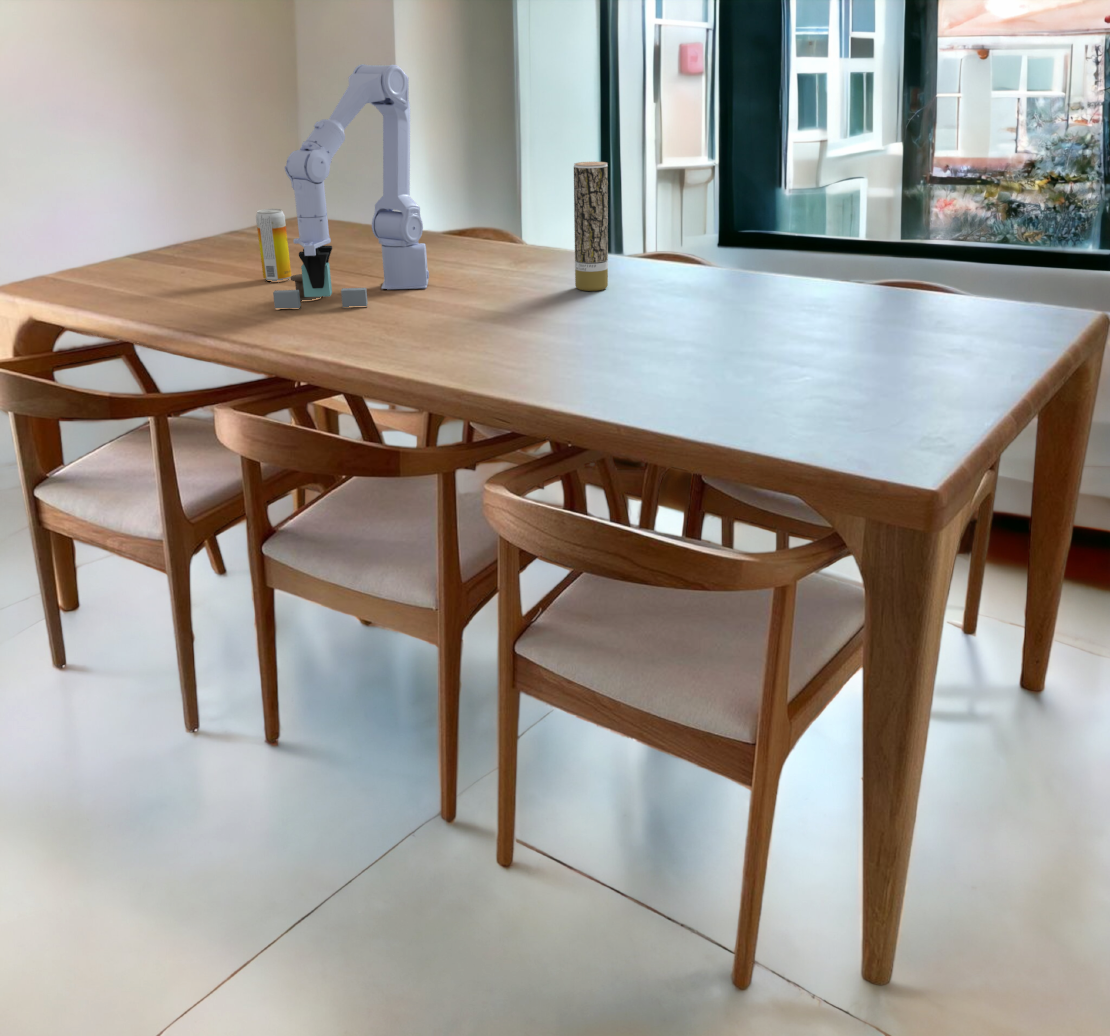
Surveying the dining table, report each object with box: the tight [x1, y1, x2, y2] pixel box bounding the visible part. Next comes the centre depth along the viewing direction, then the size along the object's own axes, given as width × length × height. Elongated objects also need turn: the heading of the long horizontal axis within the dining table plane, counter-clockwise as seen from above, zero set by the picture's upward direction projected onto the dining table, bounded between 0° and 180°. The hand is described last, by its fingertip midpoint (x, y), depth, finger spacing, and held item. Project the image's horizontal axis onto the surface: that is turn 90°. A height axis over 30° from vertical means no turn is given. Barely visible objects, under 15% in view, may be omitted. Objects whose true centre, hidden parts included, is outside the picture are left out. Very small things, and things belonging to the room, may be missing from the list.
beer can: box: [255, 208, 292, 281], centre depth 249 cm, size 6×6×15 cm
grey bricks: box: [272, 287, 369, 309], centre depth 226 cm, size 18×2×4 cm, turn 93°
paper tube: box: [573, 161, 609, 292], centre depth 233 cm, size 7×7×25 cm
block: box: [300, 262, 333, 297], centre depth 224 cm, size 5×3×6 cm, turn 92°
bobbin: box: [289, 273, 320, 301], centre depth 234 cm, size 7×7×4 cm
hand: (319, 286), depth 225 cm, fingers closed on block, 3 cm apart
